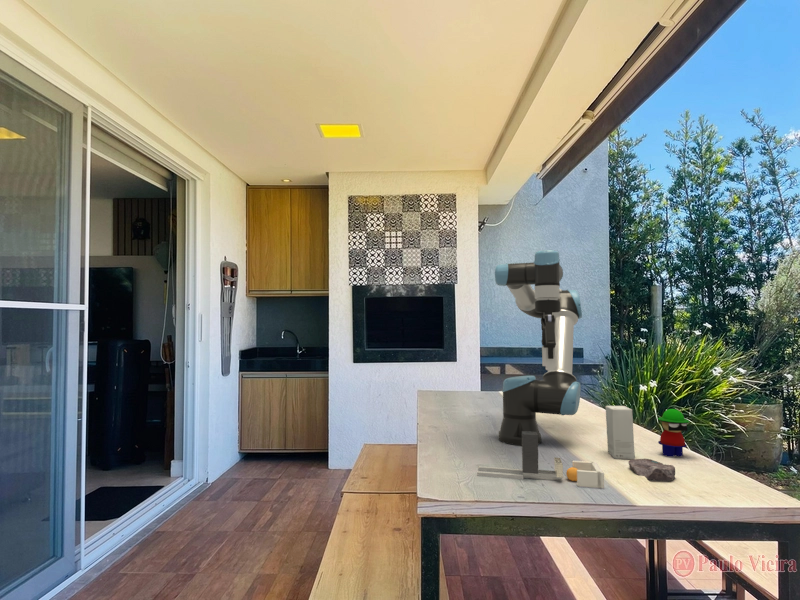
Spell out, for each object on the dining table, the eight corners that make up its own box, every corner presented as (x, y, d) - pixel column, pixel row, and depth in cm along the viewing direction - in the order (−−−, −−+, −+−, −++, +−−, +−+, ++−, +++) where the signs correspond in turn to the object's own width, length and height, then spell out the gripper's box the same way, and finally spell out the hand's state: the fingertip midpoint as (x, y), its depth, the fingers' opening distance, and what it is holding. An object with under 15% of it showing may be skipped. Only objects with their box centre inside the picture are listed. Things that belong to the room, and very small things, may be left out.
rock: (682, 484, 121) (681, 466, 121) (636, 481, 123) (635, 464, 123) (670, 474, 129) (669, 458, 129) (626, 472, 131) (626, 456, 131)
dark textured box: (522, 479, 119) (522, 435, 120) (522, 472, 125) (521, 430, 126) (563, 482, 117) (562, 437, 118) (560, 475, 123) (559, 432, 124)
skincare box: (635, 460, 142) (633, 409, 143) (612, 458, 143) (611, 408, 144) (627, 453, 150) (626, 405, 151) (606, 451, 151) (604, 404, 152)
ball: (585, 475, 119) (577, 485, 119) (576, 466, 122) (567, 476, 122) (579, 472, 117) (570, 482, 117) (569, 462, 120) (561, 472, 120)
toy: (686, 453, 150) (684, 407, 150) (694, 460, 141) (693, 412, 142) (655, 451, 152) (654, 405, 153) (662, 458, 144) (660, 410, 145)
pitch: (468, 485, 119) (468, 476, 119) (472, 469, 132) (472, 461, 132) (608, 497, 111) (608, 487, 111) (597, 478, 124) (597, 470, 125)
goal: (577, 487, 115) (577, 471, 115) (572, 475, 124) (572, 460, 124) (604, 489, 113) (604, 473, 113) (597, 477, 122) (596, 462, 123)
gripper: (564, 297, 129) (566, 372, 128) (556, 301, 154) (557, 364, 152) (537, 297, 131) (538, 371, 130) (532, 302, 155) (533, 364, 154)
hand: (548, 368), depth 141 cm, fingers open, 13 cm apart
